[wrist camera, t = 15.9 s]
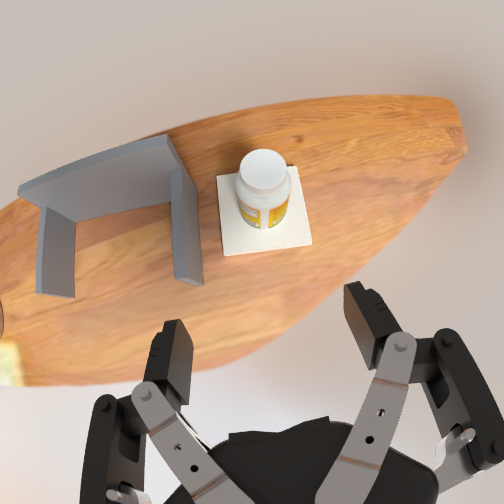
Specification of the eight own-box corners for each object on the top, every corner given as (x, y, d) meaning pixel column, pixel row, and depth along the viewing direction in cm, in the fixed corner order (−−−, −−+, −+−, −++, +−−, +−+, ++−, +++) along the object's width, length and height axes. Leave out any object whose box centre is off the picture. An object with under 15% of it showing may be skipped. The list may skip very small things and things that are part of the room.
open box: (69, 298, 31) (7, 288, 20) (71, 216, 34) (18, 185, 22) (204, 285, 31) (168, 268, 19) (196, 188, 33) (166, 133, 22)
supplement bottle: (240, 231, 31) (230, 197, 22) (240, 189, 32) (230, 143, 23) (288, 230, 31) (297, 195, 21) (285, 187, 32) (291, 141, 22)
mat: (225, 256, 31) (223, 254, 30) (217, 179, 34) (216, 175, 33) (310, 244, 31) (312, 242, 30) (295, 169, 33) (296, 165, 32)
